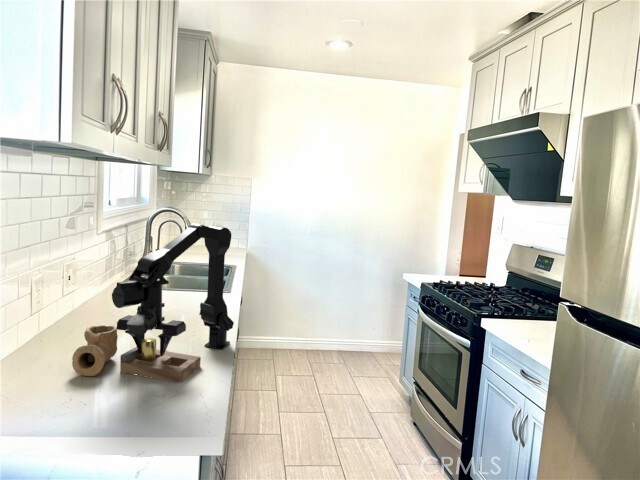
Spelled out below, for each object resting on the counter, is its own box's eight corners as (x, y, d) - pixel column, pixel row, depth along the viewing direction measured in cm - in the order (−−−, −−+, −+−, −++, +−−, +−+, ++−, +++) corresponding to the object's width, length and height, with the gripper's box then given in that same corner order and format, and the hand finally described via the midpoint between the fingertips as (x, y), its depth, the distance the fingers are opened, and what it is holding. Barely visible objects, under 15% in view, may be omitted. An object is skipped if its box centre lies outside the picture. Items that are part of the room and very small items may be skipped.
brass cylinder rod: (146, 363, 137) (146, 337, 136) (158, 365, 137) (159, 339, 136) (137, 368, 134) (138, 341, 133) (150, 370, 133) (151, 343, 132)
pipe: (68, 378, 125) (68, 341, 124) (90, 355, 141) (90, 322, 140) (104, 378, 126) (104, 342, 125) (121, 355, 142) (122, 323, 141)
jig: (145, 357, 142) (145, 341, 141) (200, 366, 138) (200, 350, 137) (120, 372, 130) (120, 355, 130) (179, 383, 126) (179, 365, 126)
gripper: (103, 305, 127) (104, 360, 129) (166, 311, 123) (166, 369, 125) (128, 295, 138) (129, 347, 139) (187, 301, 134) (186, 354, 135)
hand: (151, 354), depth 134 cm, fingers open, 6 cm apart
